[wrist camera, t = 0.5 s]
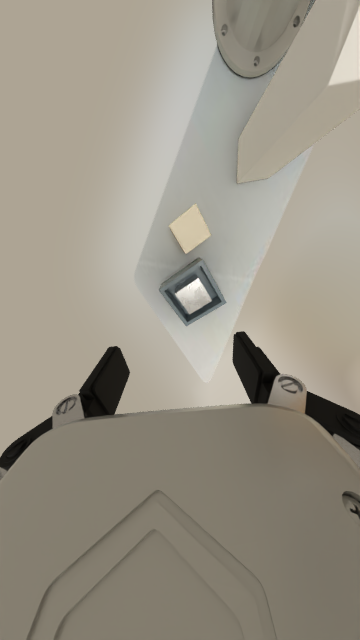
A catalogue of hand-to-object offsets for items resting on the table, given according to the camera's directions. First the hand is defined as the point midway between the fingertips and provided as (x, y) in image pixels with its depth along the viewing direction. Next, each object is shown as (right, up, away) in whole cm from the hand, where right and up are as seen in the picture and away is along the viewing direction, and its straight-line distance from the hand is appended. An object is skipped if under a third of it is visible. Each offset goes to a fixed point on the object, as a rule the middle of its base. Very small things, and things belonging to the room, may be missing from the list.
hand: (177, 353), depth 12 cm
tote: (+3, +11, +25) cm, 27 cm away
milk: (+14, +32, +14) cm, 37 cm away
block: (+3, +10, +24) cm, 26 cm away
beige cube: (+2, +22, +19) cm, 29 cm away
